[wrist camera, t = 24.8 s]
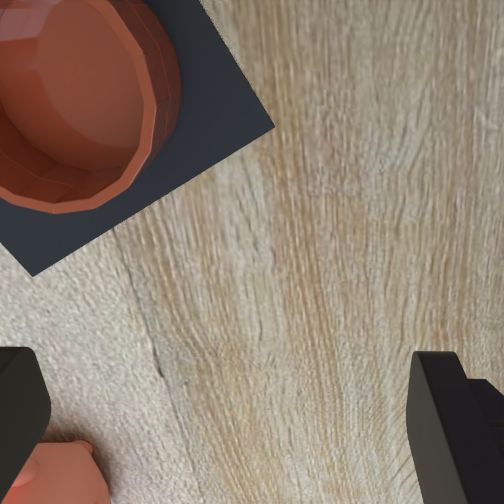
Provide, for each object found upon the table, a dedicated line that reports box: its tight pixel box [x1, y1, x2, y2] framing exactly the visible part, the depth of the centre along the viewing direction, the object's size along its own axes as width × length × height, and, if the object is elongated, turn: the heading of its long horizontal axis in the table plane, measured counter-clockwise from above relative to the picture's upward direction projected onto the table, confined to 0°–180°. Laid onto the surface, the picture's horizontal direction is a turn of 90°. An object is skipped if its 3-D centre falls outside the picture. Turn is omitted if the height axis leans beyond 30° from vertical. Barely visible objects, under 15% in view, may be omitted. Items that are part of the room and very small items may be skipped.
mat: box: [0, 0, 275, 277], centre depth 27 cm, size 20×20×1 cm
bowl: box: [0, 0, 182, 214], centre depth 25 cm, size 11×11×6 cm
